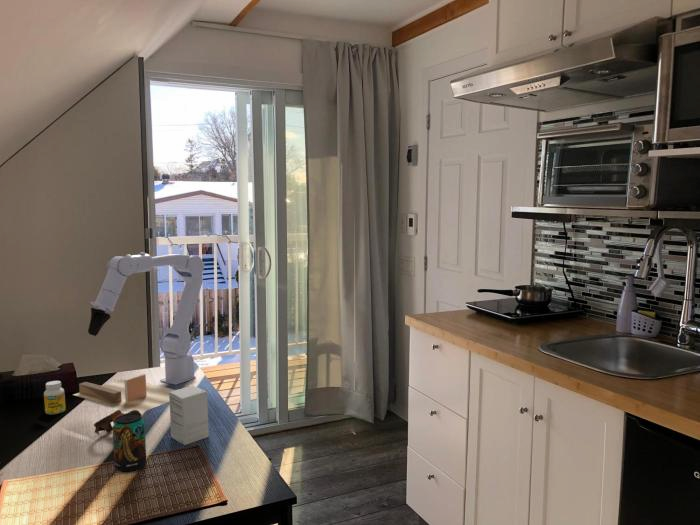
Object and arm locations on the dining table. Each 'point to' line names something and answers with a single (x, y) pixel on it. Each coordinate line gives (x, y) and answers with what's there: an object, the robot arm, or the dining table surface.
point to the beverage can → (129, 443)
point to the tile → (135, 387)
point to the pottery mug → (106, 422)
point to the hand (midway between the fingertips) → (91, 334)
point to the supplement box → (189, 414)
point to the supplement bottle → (54, 398)
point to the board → (152, 400)
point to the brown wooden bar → (100, 392)
